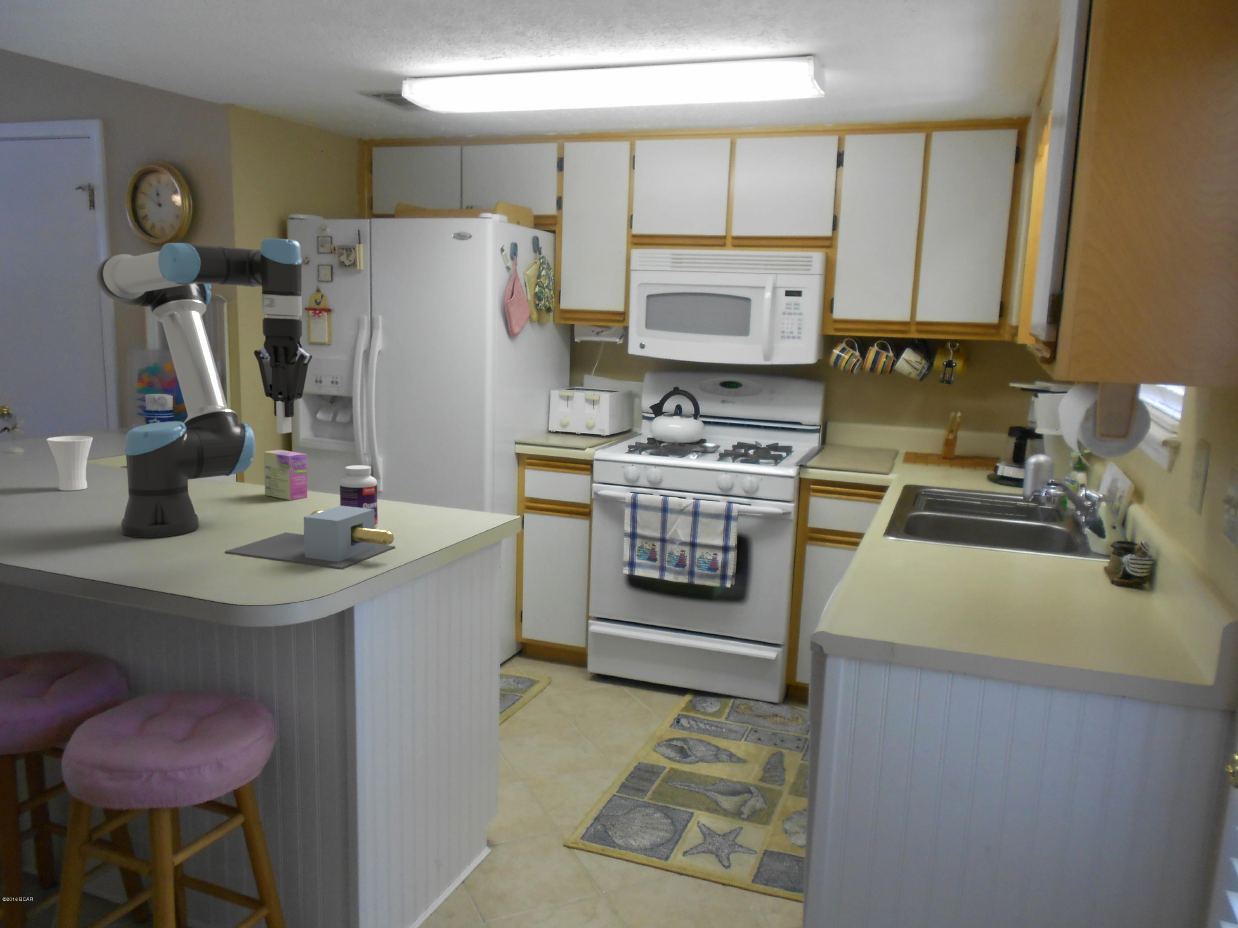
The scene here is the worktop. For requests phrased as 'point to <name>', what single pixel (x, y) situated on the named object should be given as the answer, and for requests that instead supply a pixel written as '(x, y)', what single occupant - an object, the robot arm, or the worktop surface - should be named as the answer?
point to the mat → (298, 551)
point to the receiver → (336, 533)
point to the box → (285, 474)
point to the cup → (71, 460)
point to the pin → (369, 535)
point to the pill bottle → (359, 489)
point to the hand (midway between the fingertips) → (284, 432)
